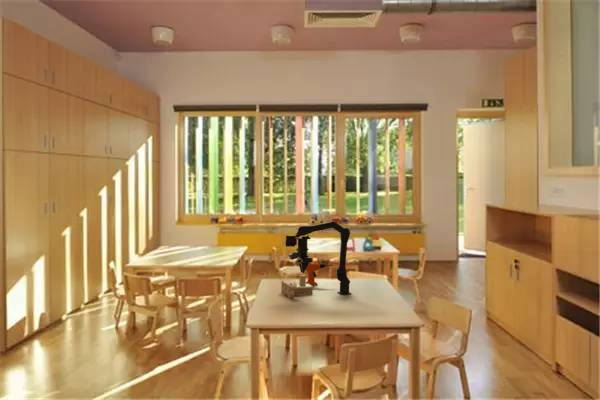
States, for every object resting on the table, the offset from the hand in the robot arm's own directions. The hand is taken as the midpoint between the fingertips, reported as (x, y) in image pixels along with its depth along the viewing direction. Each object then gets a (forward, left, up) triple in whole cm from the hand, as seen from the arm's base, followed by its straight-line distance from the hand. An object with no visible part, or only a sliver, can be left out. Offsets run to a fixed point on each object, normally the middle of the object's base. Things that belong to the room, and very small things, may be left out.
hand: (302, 272), depth 299 cm
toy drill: (+20, -18, -13) cm, 30 cm away
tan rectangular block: (-8, +8, -7) cm, 14 cm away
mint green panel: (0, +2, -8) cm, 9 cm away
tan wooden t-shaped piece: (-3, +3, -12) cm, 13 cm away
